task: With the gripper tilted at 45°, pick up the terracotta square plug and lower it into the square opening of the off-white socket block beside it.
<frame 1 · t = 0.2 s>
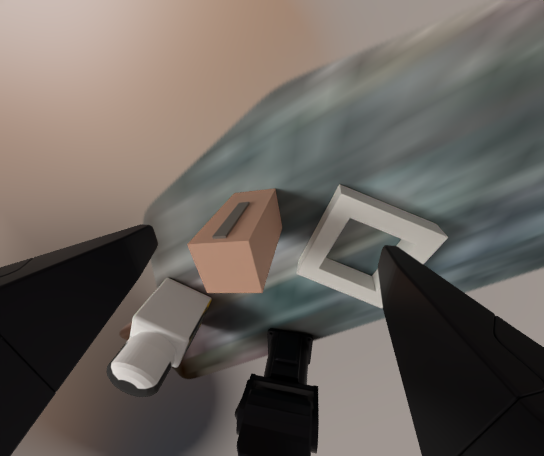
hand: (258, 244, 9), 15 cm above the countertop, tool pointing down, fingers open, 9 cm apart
plug: (258, 210, 25), on the countertop
socket block: (360, 243, 25), on the countertop
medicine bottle: (185, 300, 35), on the countertop
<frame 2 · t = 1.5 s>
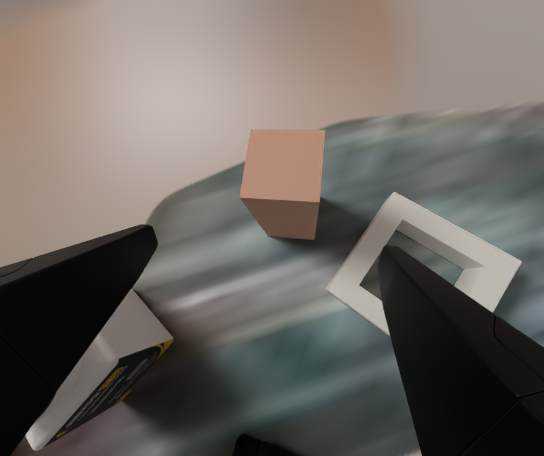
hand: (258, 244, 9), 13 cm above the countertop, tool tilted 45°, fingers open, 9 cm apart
plug: (293, 215, 23), on the countertop
socket block: (406, 277, 20), on the countertop
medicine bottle: (128, 340, 22), on the countertop
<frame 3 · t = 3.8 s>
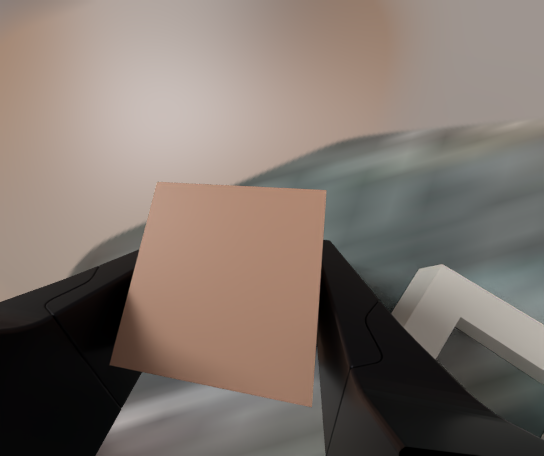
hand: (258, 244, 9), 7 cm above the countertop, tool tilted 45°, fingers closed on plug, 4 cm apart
plug: (276, 285, 15), on the countertop, touching gripper
socket block: (462, 405, 12), on the countertop
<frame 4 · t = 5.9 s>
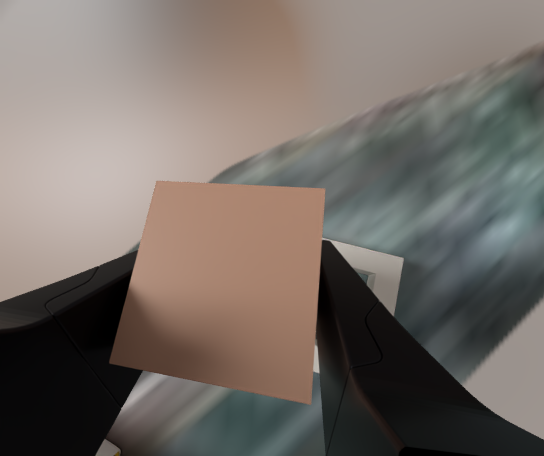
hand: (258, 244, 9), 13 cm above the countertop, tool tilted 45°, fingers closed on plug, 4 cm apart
plug: (276, 284, 15), point 7 cm above the countertop, touching gripper
socket block: (323, 300, 21), on the countertop
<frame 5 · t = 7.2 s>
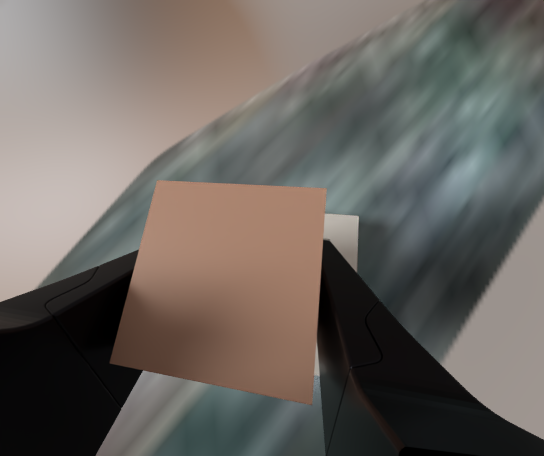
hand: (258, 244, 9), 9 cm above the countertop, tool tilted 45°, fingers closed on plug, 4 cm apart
plug: (276, 284, 15), point 3 cm above the countertop, touching gripper
socket block: (281, 283, 18), on the countertop
when the fingers open (7 cm above the countertop, at t = 8.0 s): plug stays where it is, resting in socket block.
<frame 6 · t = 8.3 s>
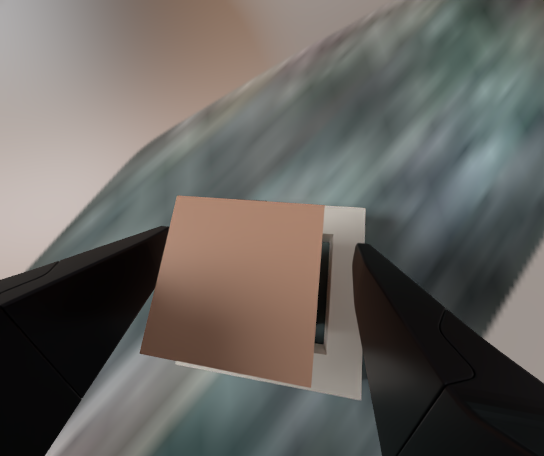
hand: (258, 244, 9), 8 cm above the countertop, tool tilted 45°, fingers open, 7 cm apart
plug: (278, 285, 16), resting in socket block
socket block: (278, 285, 16), on the countertop
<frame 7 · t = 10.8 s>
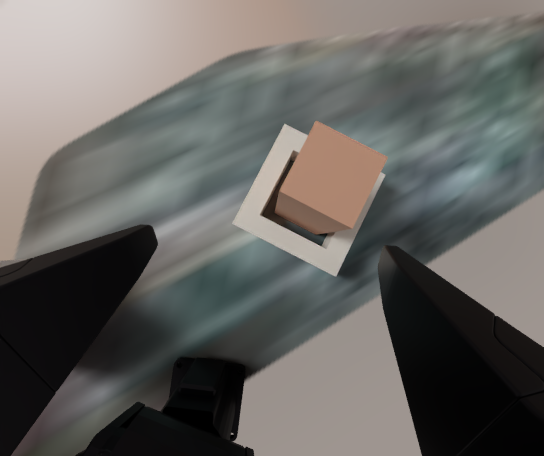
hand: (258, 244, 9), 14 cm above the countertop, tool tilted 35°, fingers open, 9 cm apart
plug: (305, 203, 23), resting in socket block
socket block: (305, 203, 23), on the countertop
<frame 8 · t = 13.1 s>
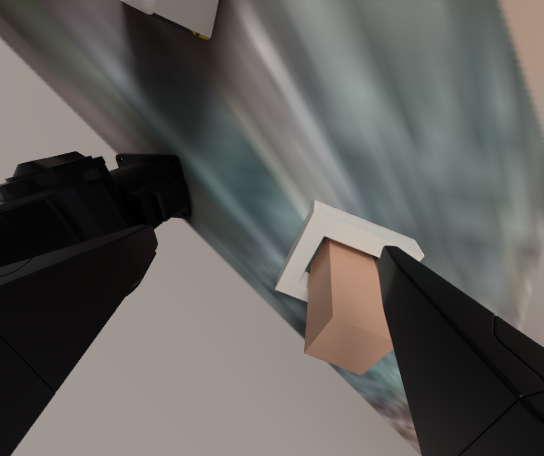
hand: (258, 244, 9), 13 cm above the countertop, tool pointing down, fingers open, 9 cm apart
plug: (339, 258, 24), resting in socket block
socket block: (339, 258, 24), on the countertop
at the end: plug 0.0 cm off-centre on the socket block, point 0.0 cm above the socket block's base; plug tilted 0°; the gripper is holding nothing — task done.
